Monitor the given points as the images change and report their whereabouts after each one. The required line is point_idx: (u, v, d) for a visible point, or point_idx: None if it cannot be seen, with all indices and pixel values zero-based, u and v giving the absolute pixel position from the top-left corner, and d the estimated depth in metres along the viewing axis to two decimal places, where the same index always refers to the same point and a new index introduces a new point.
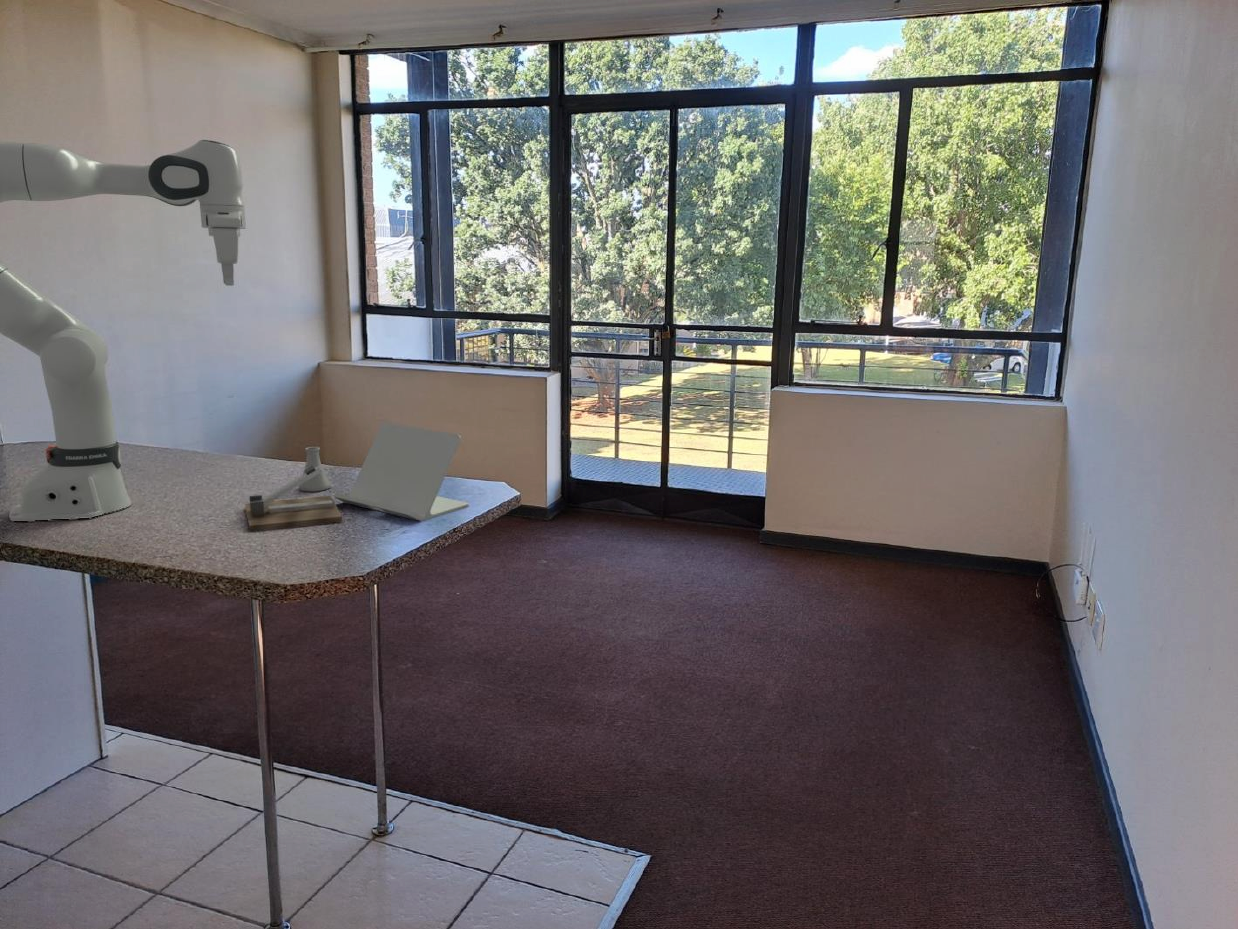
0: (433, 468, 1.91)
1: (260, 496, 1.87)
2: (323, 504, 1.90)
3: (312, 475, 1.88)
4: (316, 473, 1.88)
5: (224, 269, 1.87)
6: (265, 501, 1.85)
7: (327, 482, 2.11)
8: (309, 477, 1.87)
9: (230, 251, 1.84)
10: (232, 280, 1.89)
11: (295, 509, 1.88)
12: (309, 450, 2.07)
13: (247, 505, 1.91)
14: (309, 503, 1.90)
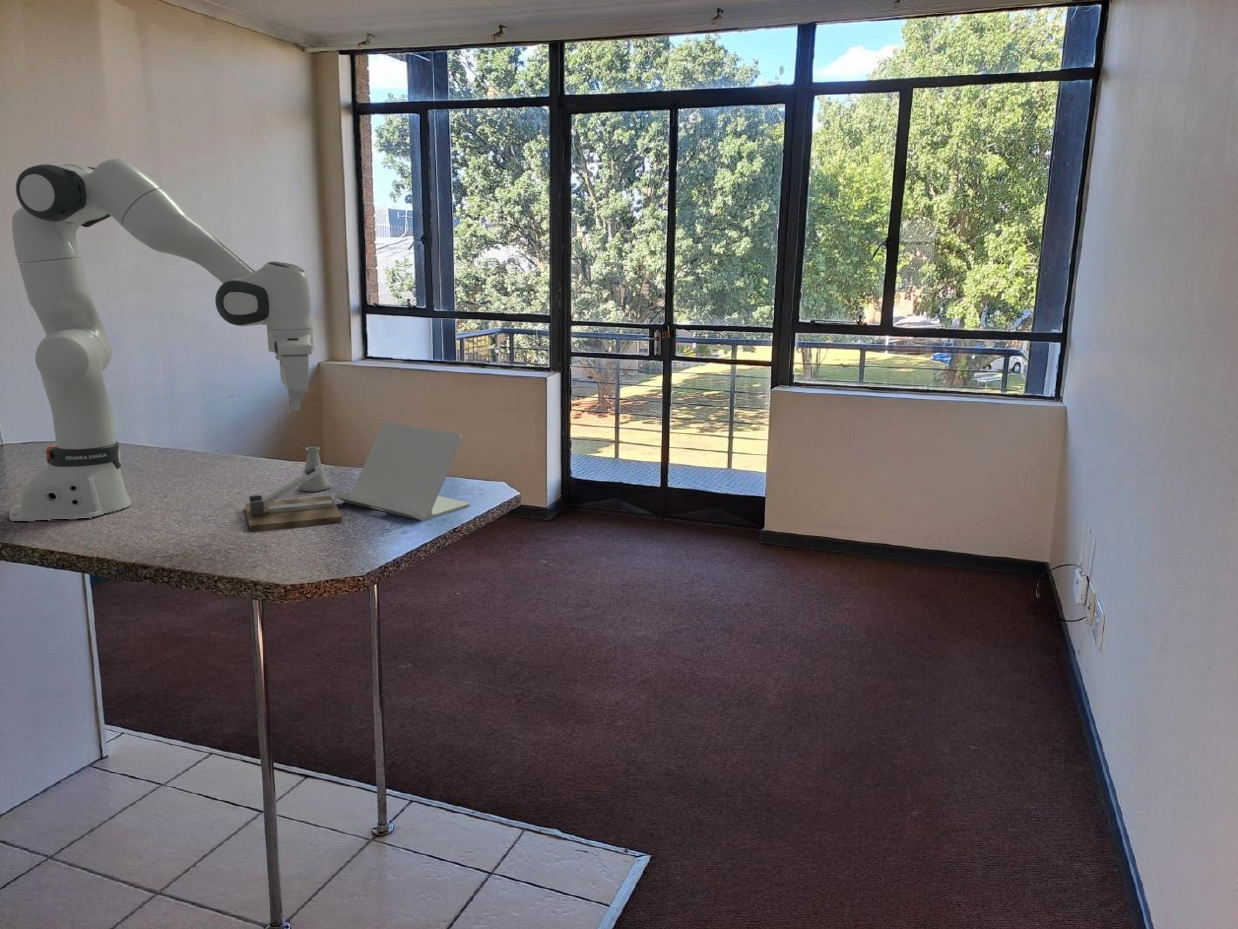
0: (434, 468, 1.92)
1: (260, 496, 1.87)
2: (323, 504, 1.90)
3: (312, 475, 1.88)
4: (316, 473, 1.88)
5: (291, 394, 1.80)
6: (265, 501, 1.85)
7: (327, 482, 2.11)
8: (309, 477, 1.87)
9: (301, 380, 1.74)
10: (299, 405, 1.82)
11: (295, 509, 1.88)
12: (309, 450, 2.07)
13: (247, 505, 1.91)
14: (309, 503, 1.90)
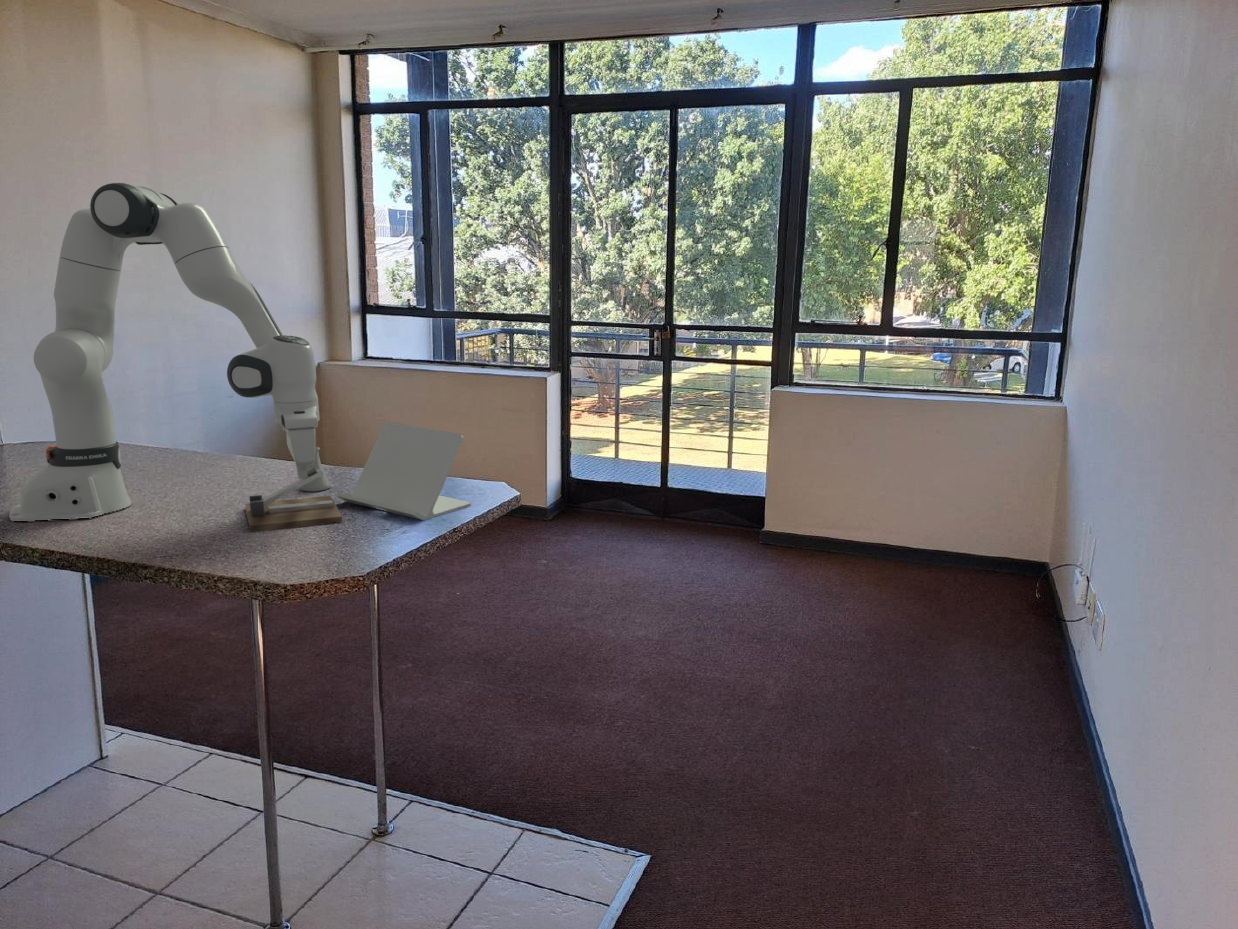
0: (435, 467, 1.92)
1: (260, 496, 1.87)
2: (323, 504, 1.90)
3: (314, 477, 1.88)
4: (317, 475, 1.88)
5: None
6: (265, 501, 1.85)
7: (327, 482, 2.11)
8: (310, 479, 1.88)
9: (308, 453, 1.78)
10: (306, 473, 1.87)
11: (295, 509, 1.88)
12: None
13: (247, 505, 1.91)
14: (309, 503, 1.90)
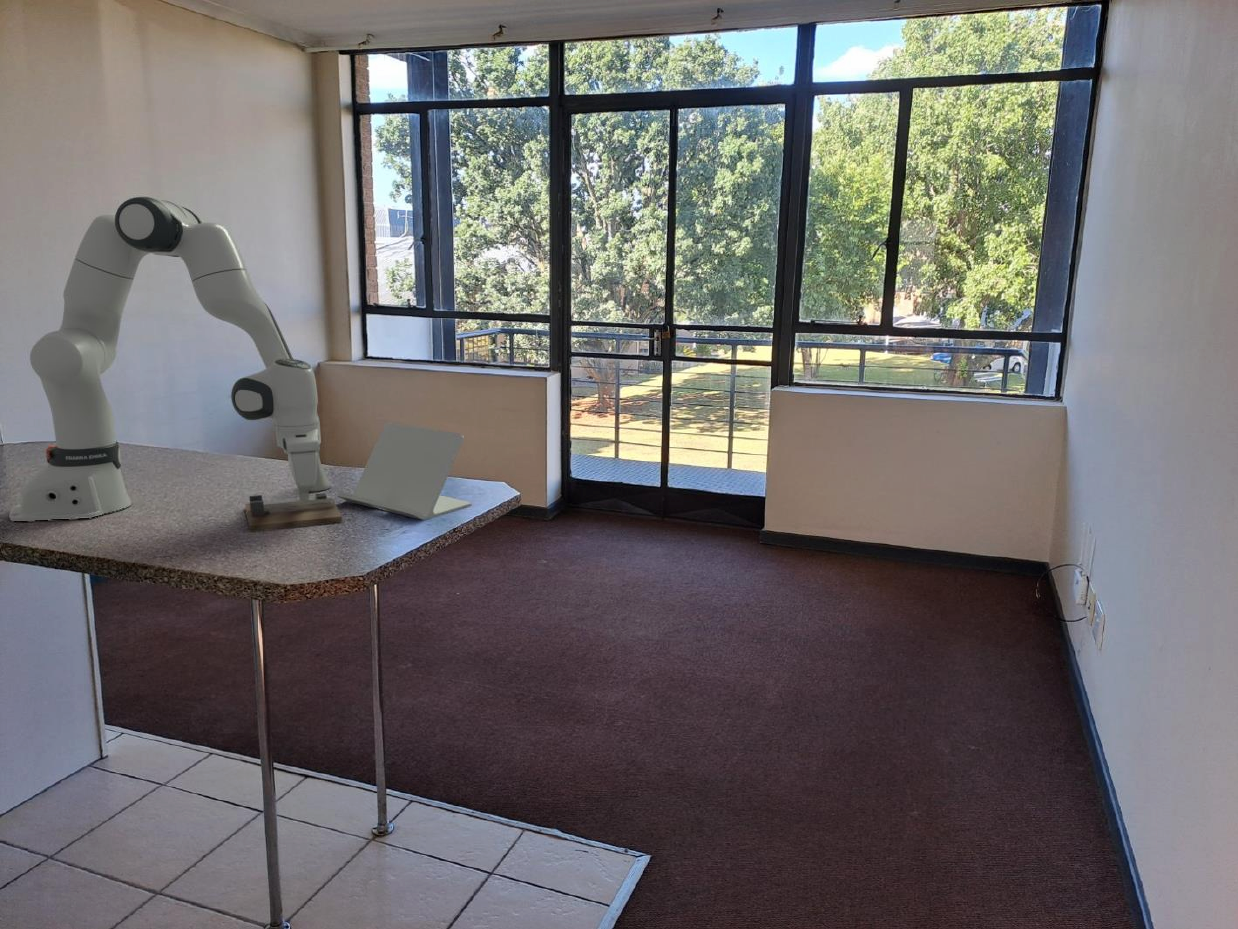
0: (436, 467, 1.92)
1: (260, 496, 1.87)
2: (323, 504, 1.90)
3: (321, 501, 1.90)
4: (325, 501, 1.90)
5: None
6: (267, 505, 1.85)
7: (327, 482, 2.11)
8: (317, 502, 1.89)
9: (309, 476, 1.79)
10: (307, 495, 1.88)
11: (295, 509, 1.88)
12: None
13: (247, 505, 1.91)
14: None
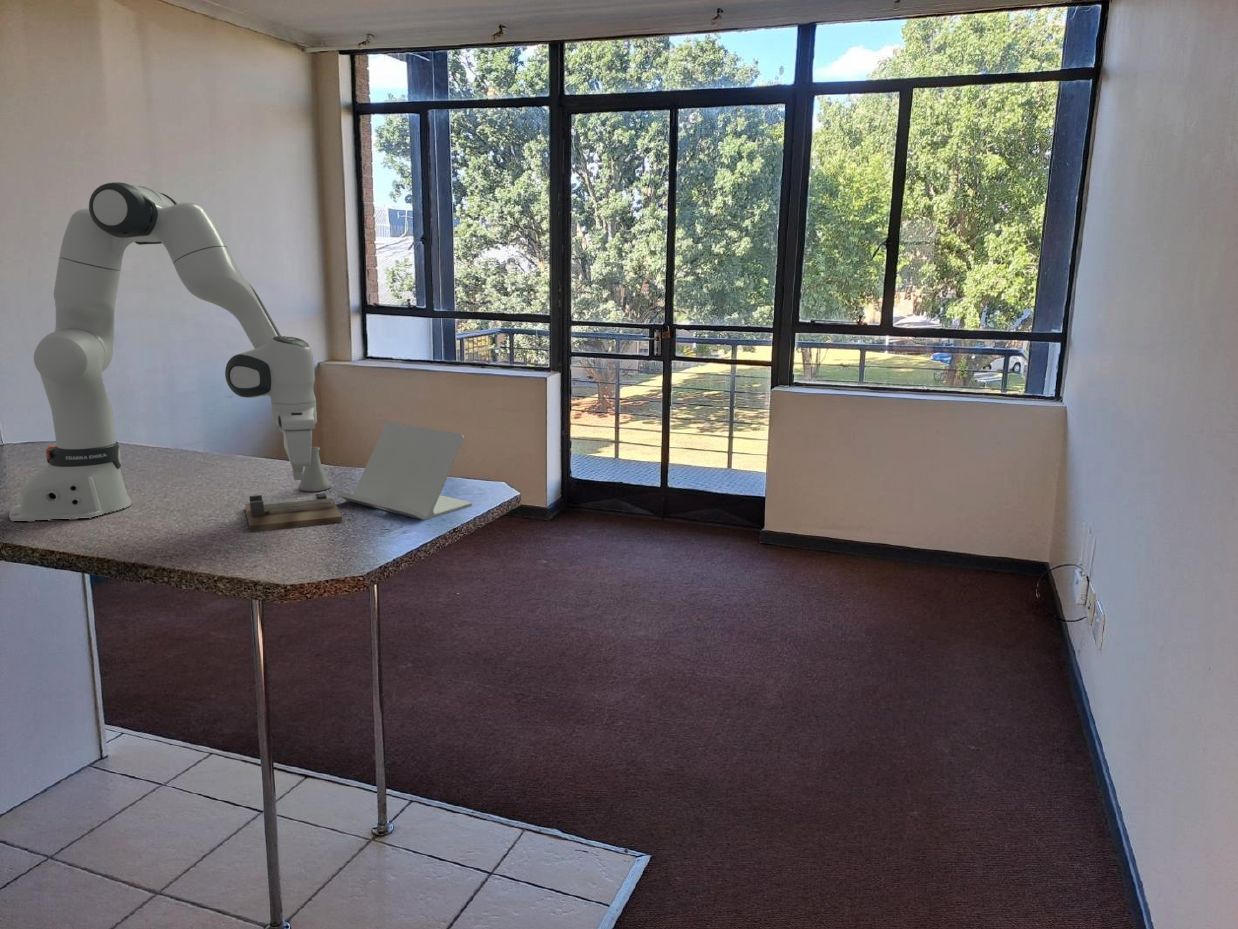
0: (436, 467, 1.92)
1: (260, 496, 1.87)
2: (323, 504, 1.90)
3: (321, 501, 1.90)
4: (325, 501, 1.90)
5: None
6: (267, 505, 1.85)
7: (327, 482, 2.11)
8: (317, 502, 1.89)
9: (304, 455, 1.77)
10: (301, 474, 1.86)
11: (295, 509, 1.88)
12: None
13: (247, 505, 1.91)
14: None
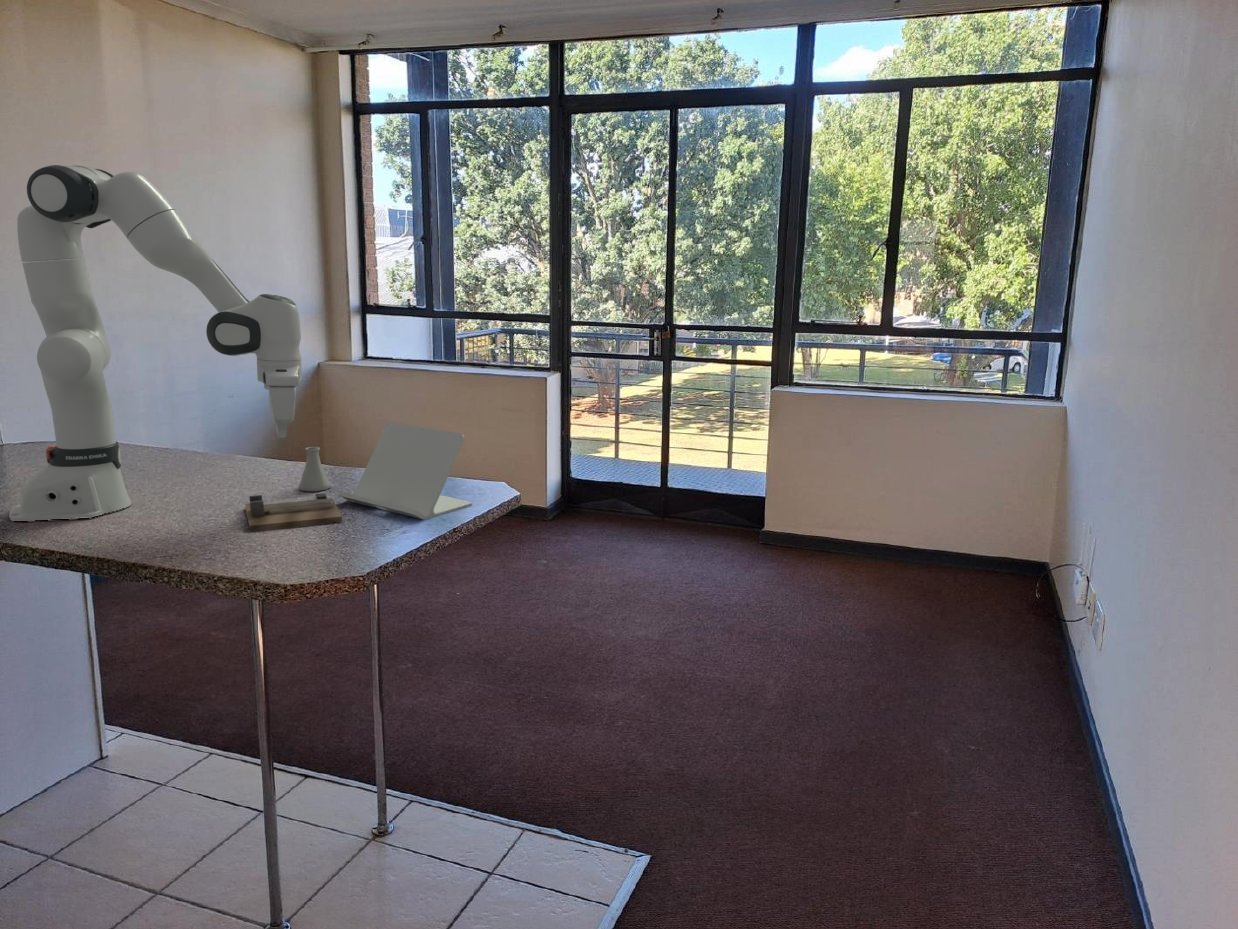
0: (437, 467, 1.92)
1: (260, 496, 1.87)
2: (323, 504, 1.90)
3: (321, 501, 1.90)
4: (325, 501, 1.90)
5: (278, 423, 1.86)
6: (267, 505, 1.85)
7: (327, 482, 2.11)
8: (317, 502, 1.89)
9: (287, 411, 1.79)
10: (285, 432, 1.88)
11: (295, 509, 1.88)
12: (309, 450, 2.07)
13: (247, 505, 1.91)
14: None
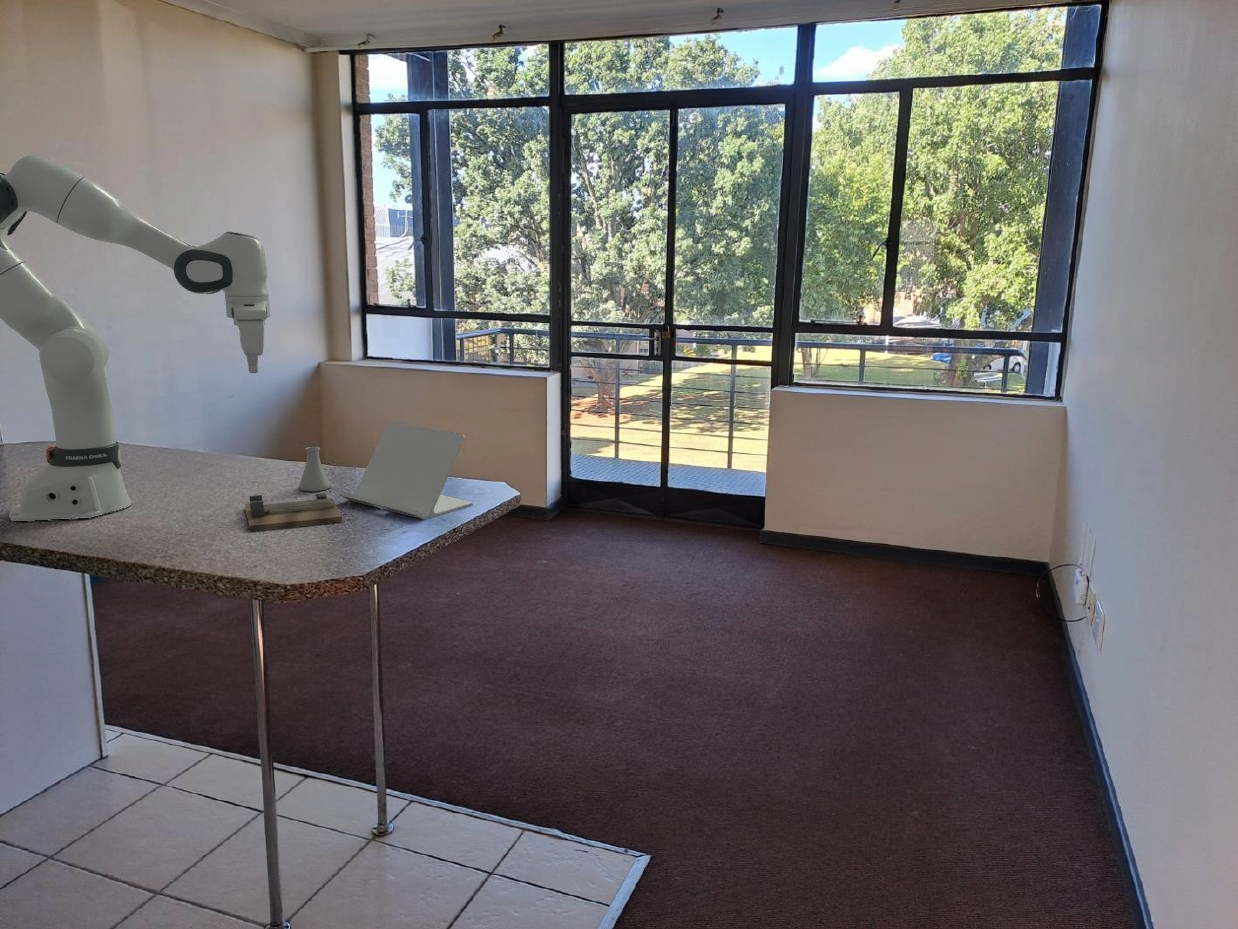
0: (437, 467, 1.93)
1: (260, 496, 1.87)
2: (323, 504, 1.90)
3: (321, 501, 1.90)
4: (325, 501, 1.90)
5: (248, 358, 1.91)
6: (267, 505, 1.85)
7: (327, 482, 2.11)
8: (317, 502, 1.89)
9: (256, 343, 1.84)
10: (256, 368, 1.93)
11: (295, 509, 1.88)
12: (309, 450, 2.07)
13: (247, 505, 1.91)
14: None
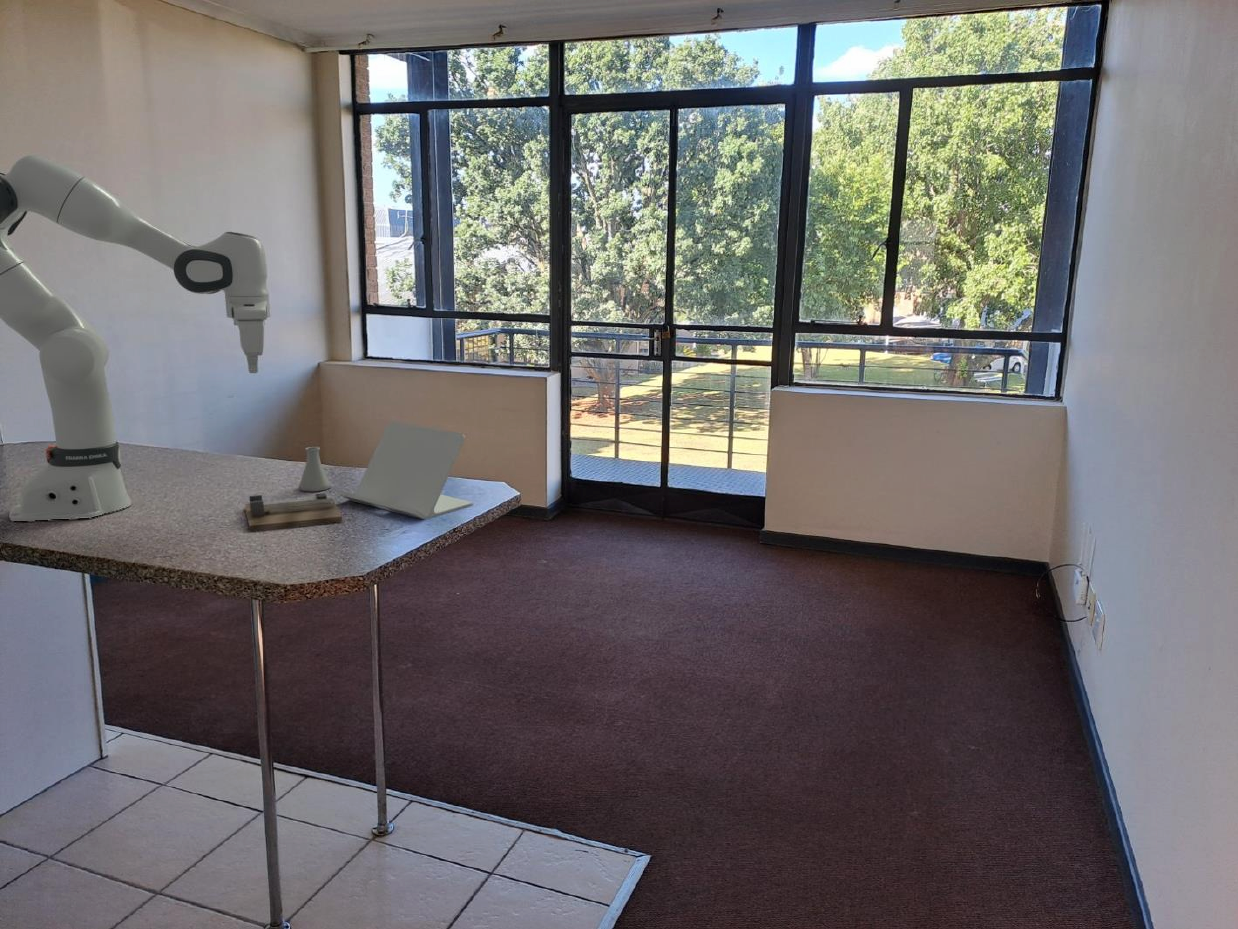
0: (437, 467, 1.93)
1: (260, 496, 1.87)
2: (323, 504, 1.90)
3: (321, 501, 1.90)
4: (325, 501, 1.90)
5: (248, 358, 1.91)
6: (267, 505, 1.85)
7: (327, 482, 2.11)
8: (317, 502, 1.89)
9: (256, 343, 1.84)
10: (256, 368, 1.93)
11: (295, 509, 1.88)
12: (309, 450, 2.07)
13: (247, 505, 1.91)
14: None
